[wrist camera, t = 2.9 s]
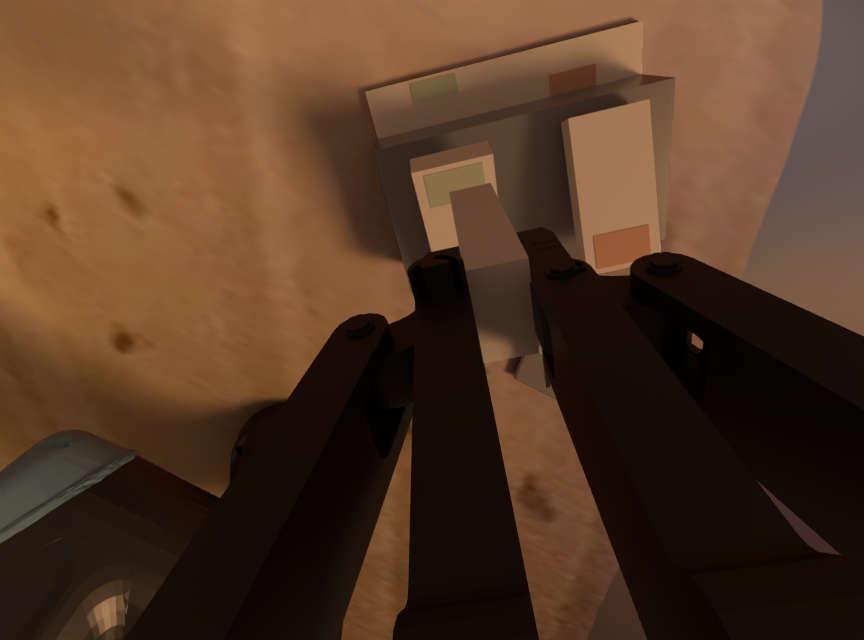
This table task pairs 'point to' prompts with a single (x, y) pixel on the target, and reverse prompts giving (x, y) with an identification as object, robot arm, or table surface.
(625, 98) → the console
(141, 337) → the table surface
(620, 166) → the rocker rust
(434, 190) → the rocker sage
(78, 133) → the table surface
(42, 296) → the table surface
